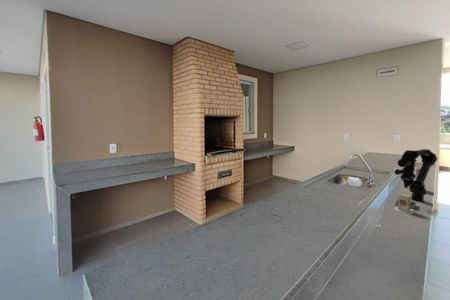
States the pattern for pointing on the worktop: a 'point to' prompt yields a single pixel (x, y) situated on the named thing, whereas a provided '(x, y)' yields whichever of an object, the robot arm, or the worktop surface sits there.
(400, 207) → the birch box
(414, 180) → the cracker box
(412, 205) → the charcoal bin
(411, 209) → the sage mat
